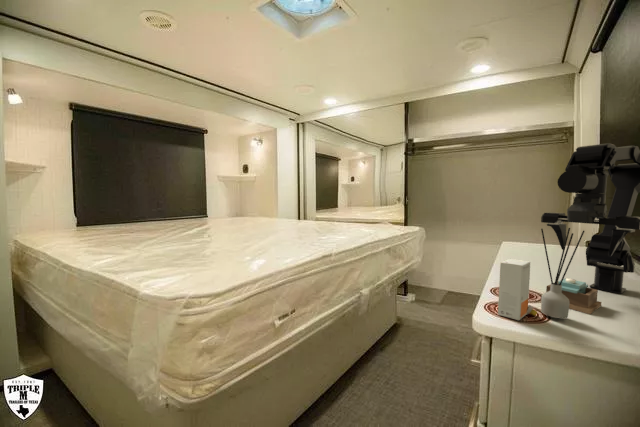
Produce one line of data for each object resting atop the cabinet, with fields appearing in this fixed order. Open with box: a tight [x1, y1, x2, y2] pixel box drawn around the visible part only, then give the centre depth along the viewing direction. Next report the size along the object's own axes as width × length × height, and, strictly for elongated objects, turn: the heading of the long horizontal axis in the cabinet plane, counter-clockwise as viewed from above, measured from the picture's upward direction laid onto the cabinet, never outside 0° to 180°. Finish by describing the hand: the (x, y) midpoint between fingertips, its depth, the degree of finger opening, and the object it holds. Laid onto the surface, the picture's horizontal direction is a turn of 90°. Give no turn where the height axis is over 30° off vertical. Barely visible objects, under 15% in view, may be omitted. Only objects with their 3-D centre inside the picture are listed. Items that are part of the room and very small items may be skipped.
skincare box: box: [497, 258, 531, 321], centre depth 62 cm, size 6×4×12 cm
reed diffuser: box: [527, 227, 585, 319], centre depth 60 cm, size 10×7×20 cm
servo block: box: [558, 277, 589, 294], centre depth 69 cm, size 9×4×5 cm, turn 123°
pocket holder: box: [545, 282, 602, 315], centre depth 69 cm, size 9×9×4 cm
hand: (585, 252), depth 73 cm, fingers open, 9 cm apart
